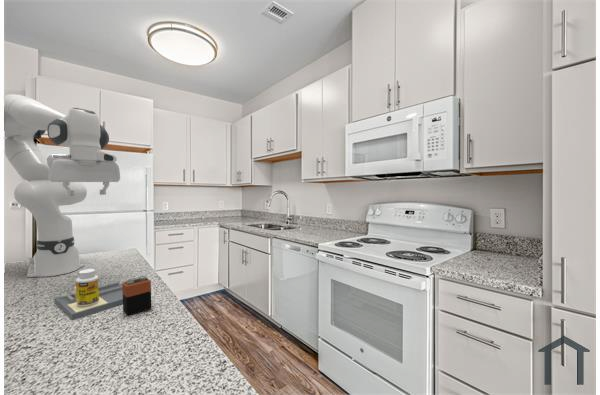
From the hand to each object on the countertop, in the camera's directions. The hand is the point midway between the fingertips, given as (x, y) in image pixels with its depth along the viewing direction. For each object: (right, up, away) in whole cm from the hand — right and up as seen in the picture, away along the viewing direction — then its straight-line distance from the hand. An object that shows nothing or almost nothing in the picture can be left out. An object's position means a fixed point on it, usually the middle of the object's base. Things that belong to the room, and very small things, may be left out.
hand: (87, 195), depth 100 cm
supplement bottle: (+10, -34, -13) cm, 37 cm away
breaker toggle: (+5, -33, -8) cm, 34 cm away
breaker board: (+9, -35, -7) cm, 37 cm away
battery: (+25, -36, -13) cm, 46 cm away
